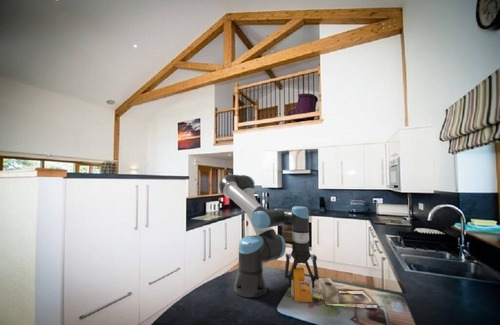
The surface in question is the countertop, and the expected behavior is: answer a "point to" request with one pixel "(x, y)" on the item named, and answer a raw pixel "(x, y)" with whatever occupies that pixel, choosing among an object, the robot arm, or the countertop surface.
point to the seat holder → (332, 293)
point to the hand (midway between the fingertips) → (301, 295)
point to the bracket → (300, 286)
